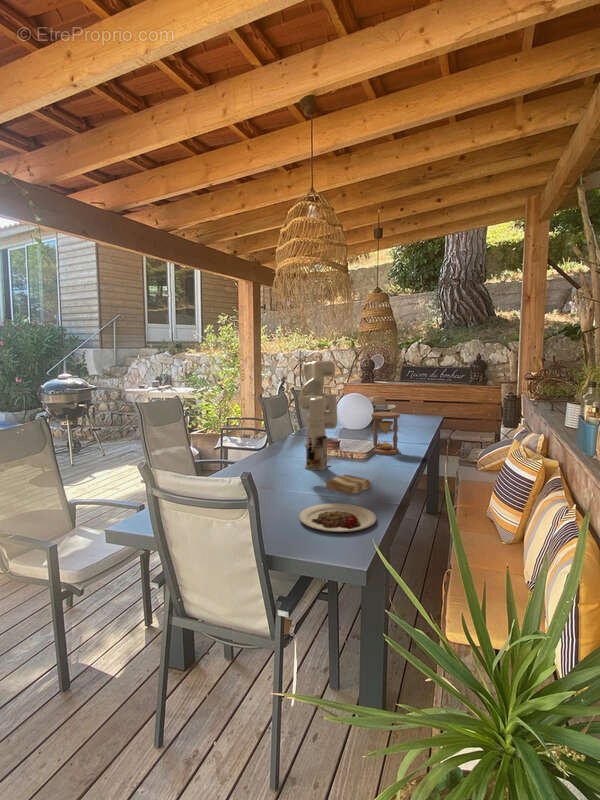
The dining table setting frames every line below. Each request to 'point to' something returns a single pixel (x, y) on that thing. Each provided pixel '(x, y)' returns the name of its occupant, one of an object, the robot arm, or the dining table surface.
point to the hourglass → (385, 425)
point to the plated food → (337, 517)
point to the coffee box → (318, 455)
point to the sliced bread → (348, 484)
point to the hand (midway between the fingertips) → (316, 457)
